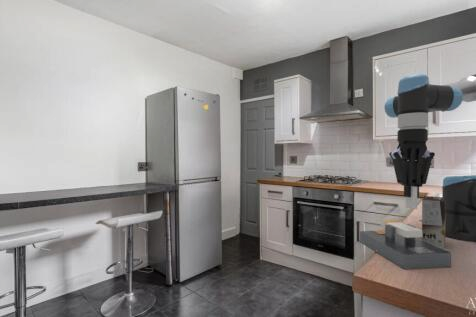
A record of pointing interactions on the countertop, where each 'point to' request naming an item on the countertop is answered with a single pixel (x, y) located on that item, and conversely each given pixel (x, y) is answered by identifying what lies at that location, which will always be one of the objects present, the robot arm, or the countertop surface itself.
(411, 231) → the rocker
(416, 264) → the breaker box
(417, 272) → the countertop surface
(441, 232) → the coffee box
